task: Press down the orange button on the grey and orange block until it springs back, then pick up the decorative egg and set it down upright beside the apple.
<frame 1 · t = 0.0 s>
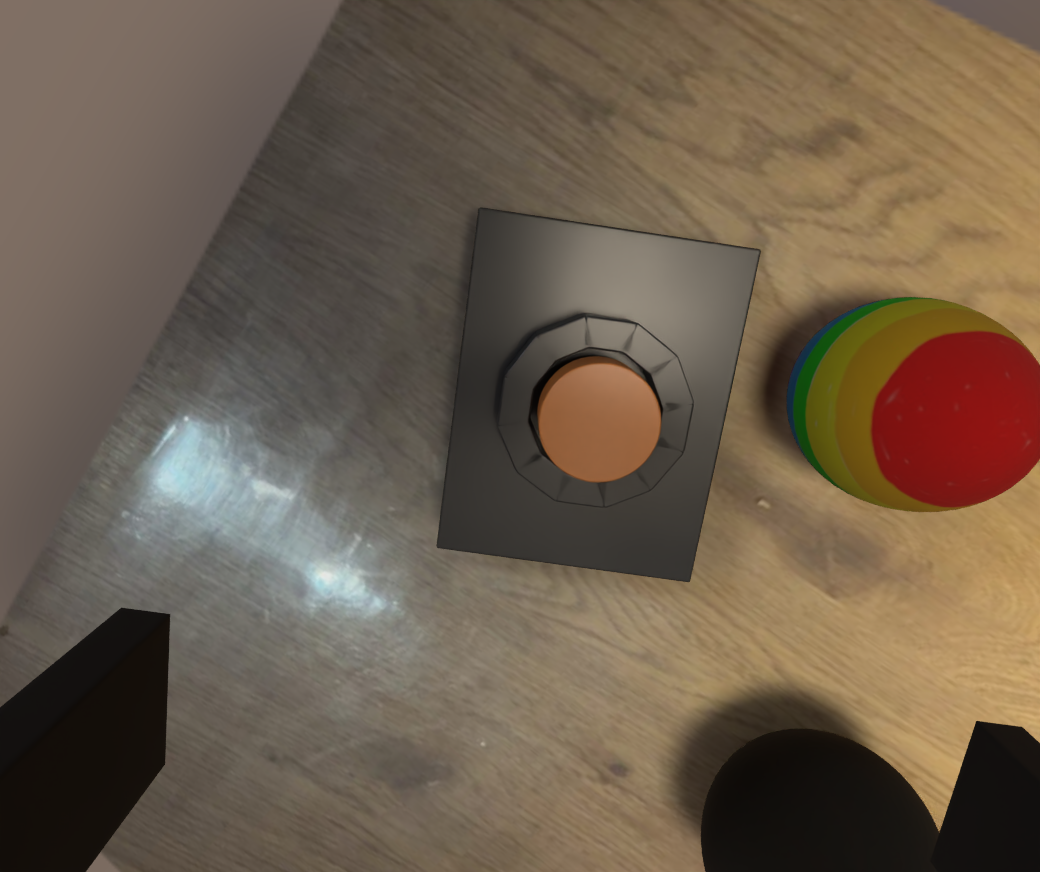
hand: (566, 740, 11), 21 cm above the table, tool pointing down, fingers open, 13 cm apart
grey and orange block: (584, 393, 31), on the table
orange button: (597, 418, 26), point 6 cm above the table, slide at 0.1 cm
decorative egg: (853, 387, 31), on the table
decorative ball: (775, 770, 36), on the table
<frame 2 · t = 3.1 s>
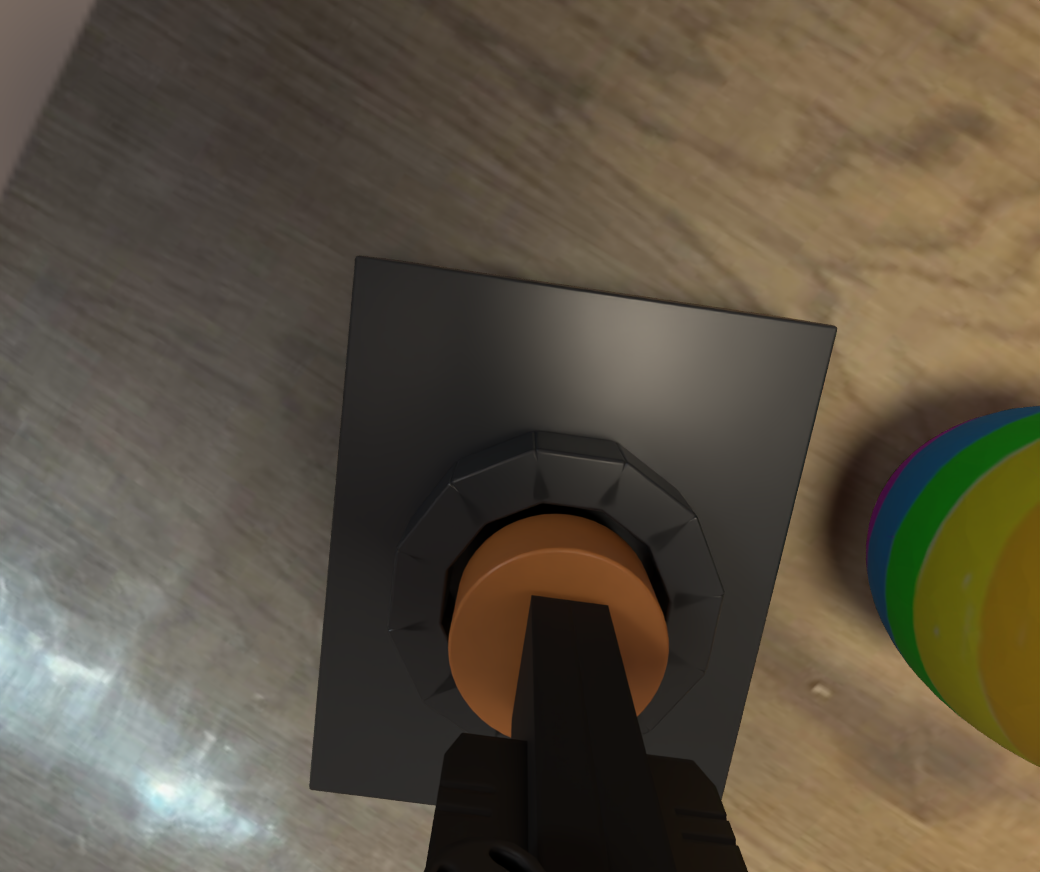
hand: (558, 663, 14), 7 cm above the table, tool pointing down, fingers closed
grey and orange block: (547, 531, 20), on the table
orange button: (556, 626, 15), point 6 cm above the table, slide at 0.1 cm, touching gripper
decorative egg: (963, 520, 20), on the table
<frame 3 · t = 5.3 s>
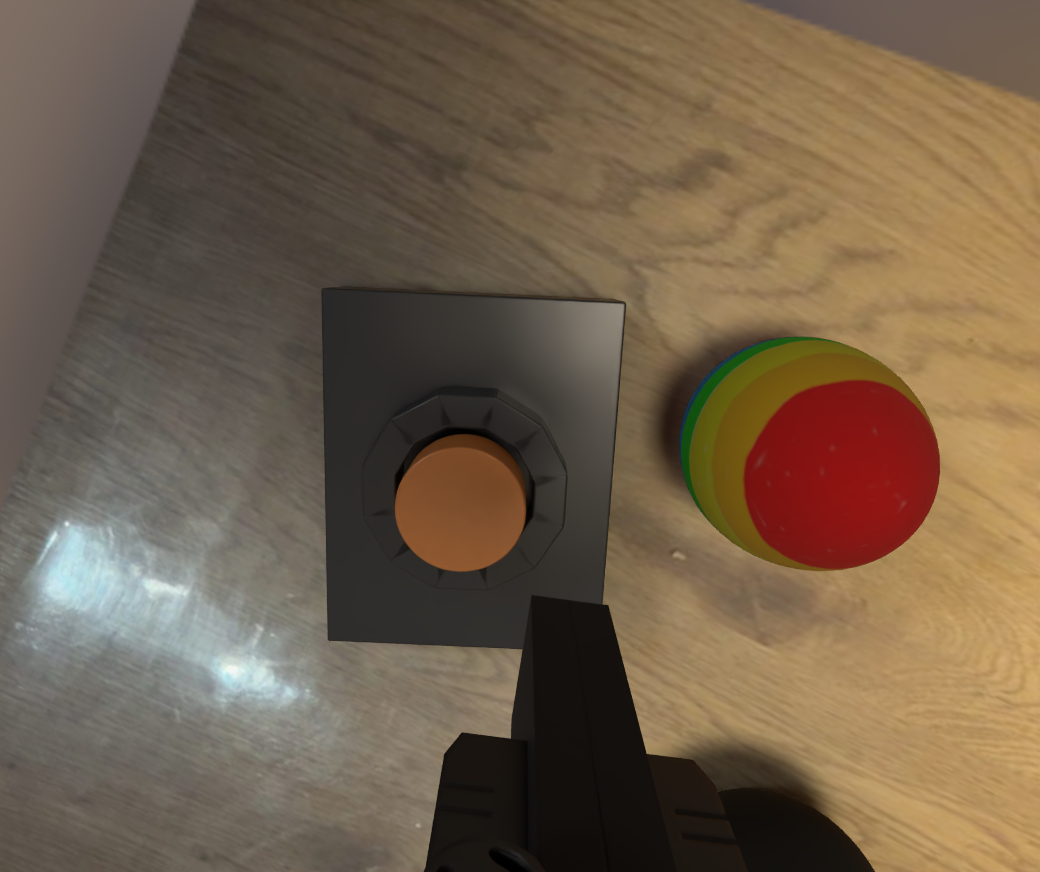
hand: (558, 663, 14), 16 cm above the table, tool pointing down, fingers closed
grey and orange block: (474, 459, 30), on the table
orange button: (462, 501, 24), point 6 cm above the table, slide at 0.1 cm
decorative egg: (758, 426, 29), on the table
decorative ball: (728, 826, 34), on the table
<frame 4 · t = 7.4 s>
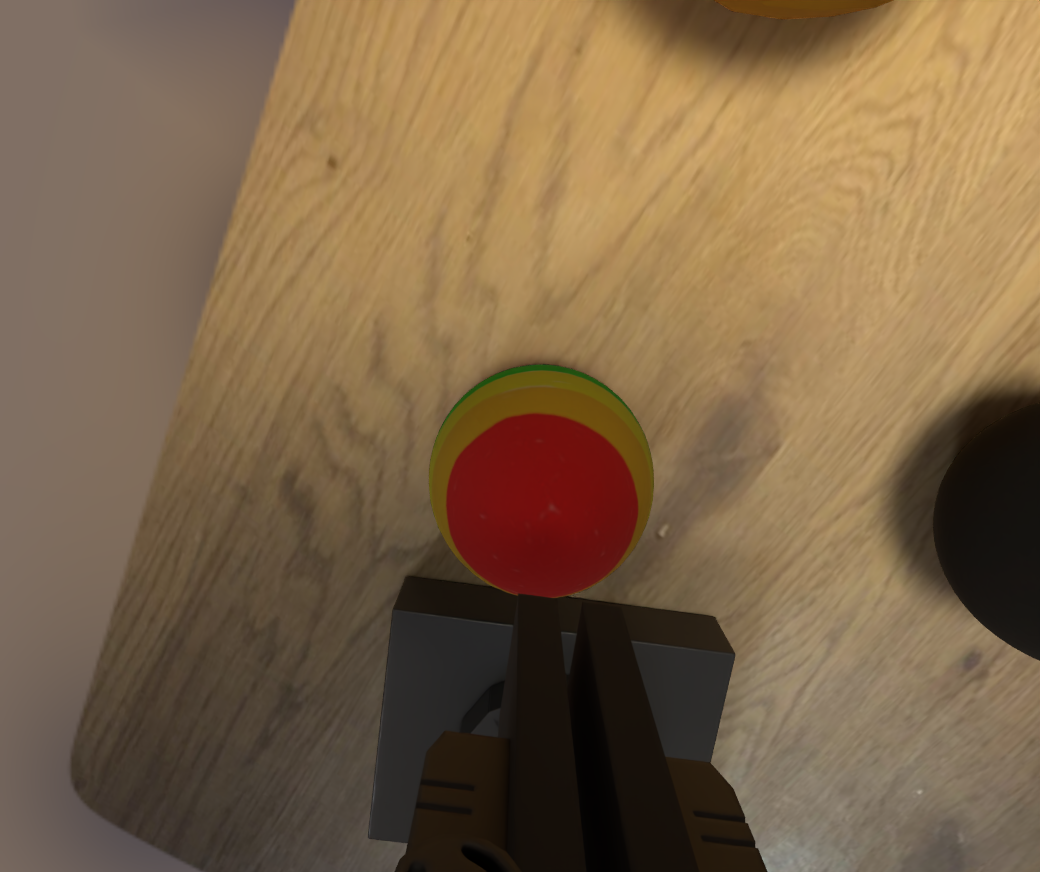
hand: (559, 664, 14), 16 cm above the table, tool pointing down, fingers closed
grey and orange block: (543, 704, 32), on the table
decorative egg: (538, 449, 30), on the table
decorative ball: (998, 490, 30), on the table
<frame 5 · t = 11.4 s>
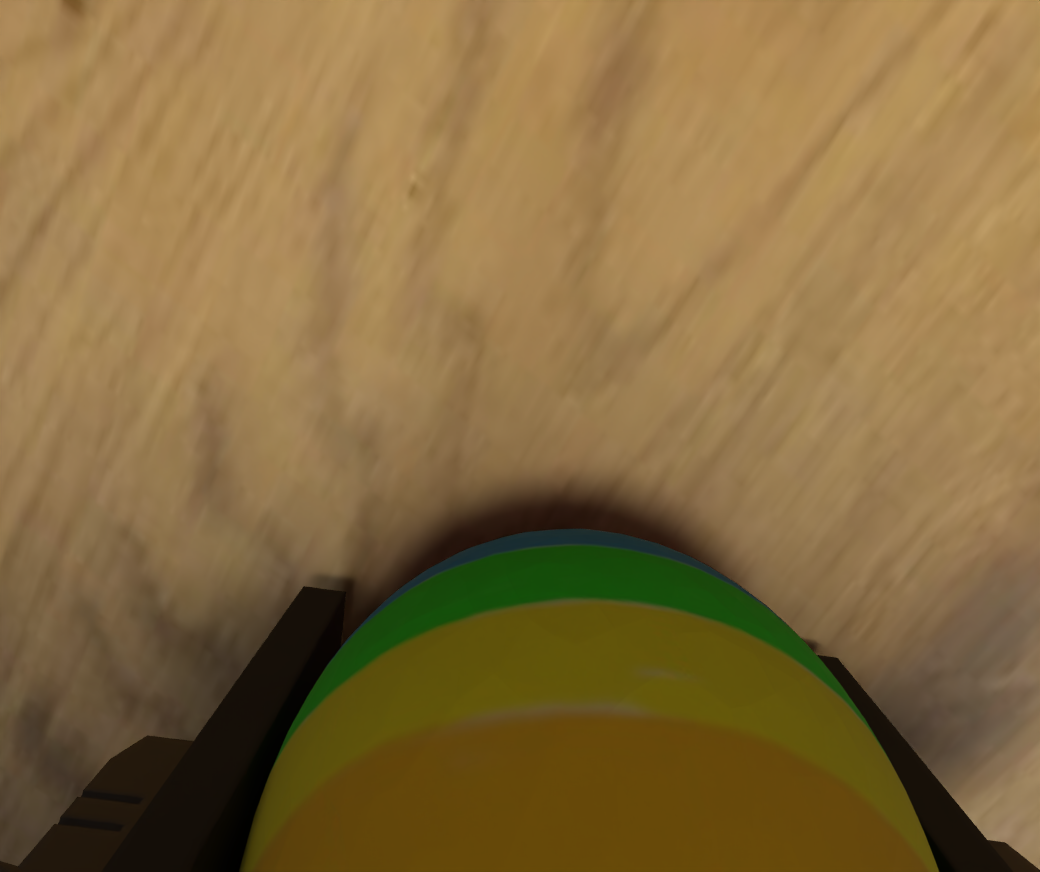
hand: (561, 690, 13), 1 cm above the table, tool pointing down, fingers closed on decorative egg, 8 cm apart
decorative egg: (559, 678, 13), on the table, touching gripper
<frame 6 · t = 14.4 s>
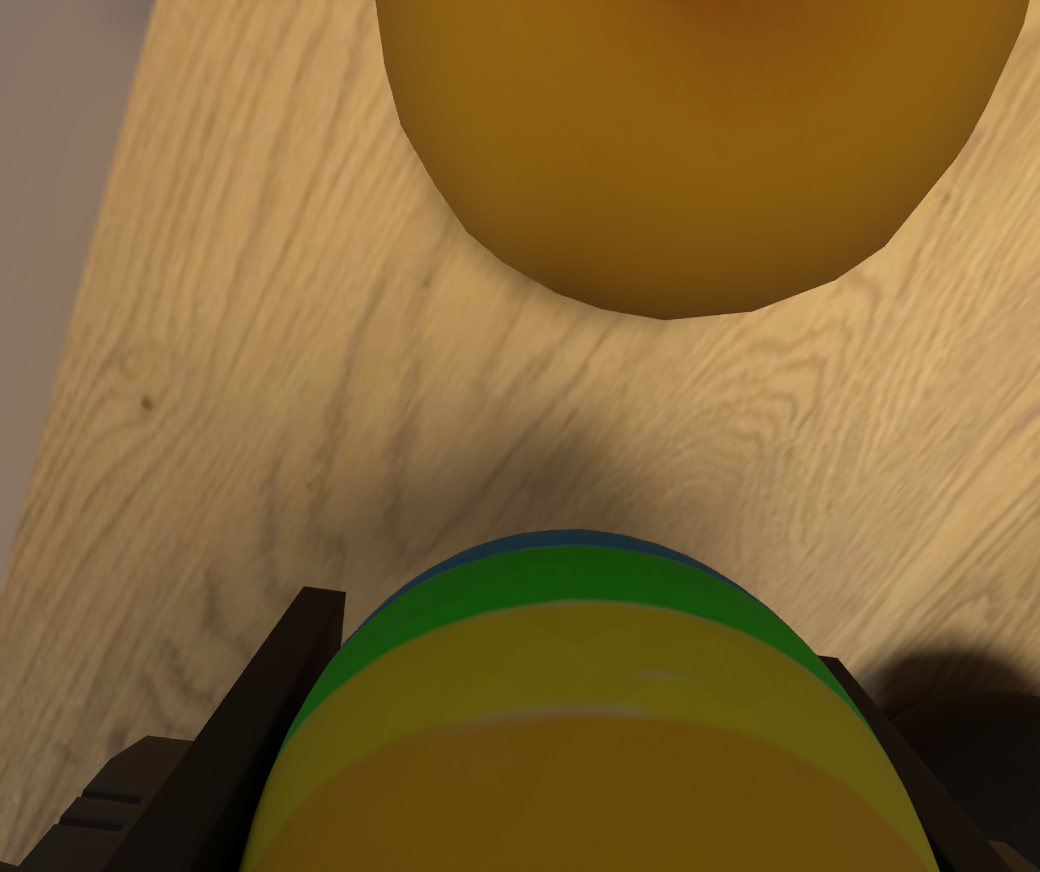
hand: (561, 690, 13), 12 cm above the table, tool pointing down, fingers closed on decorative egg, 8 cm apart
decorative egg: (559, 679, 13), point 11 cm above the table, touching gripper
apple: (637, 97, 21), on the table
decorative ball: (926, 750, 26), on the table
when the fingers open (0 cm above the table, at t = 17.3 s): decorative egg stays where it is, on the table.
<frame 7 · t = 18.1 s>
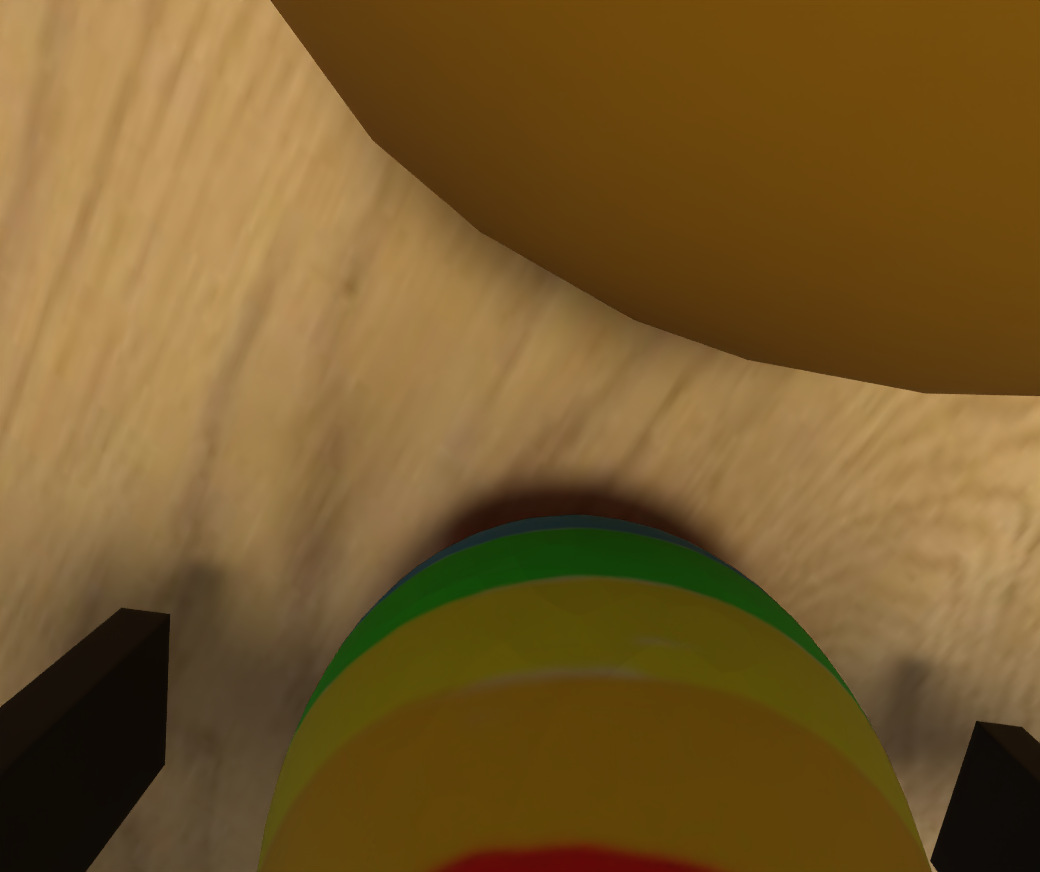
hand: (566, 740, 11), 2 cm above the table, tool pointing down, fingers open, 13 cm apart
decorative egg: (562, 660, 14), on the table
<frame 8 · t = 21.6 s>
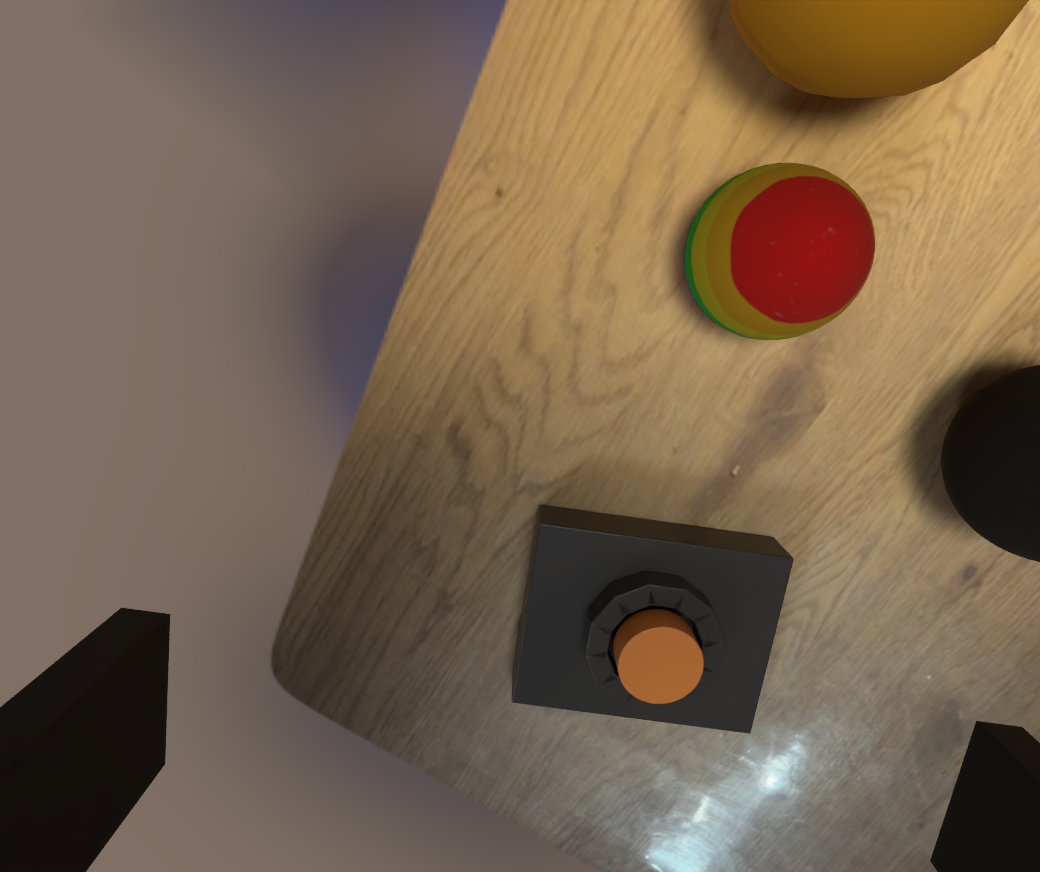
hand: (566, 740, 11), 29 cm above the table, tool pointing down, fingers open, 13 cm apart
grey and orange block: (639, 606, 42), on the table
orange button: (657, 655, 36), point 6 cm above the table, slide at 0.1 cm
decorative egg: (745, 256, 38), on the table
decorative ball: (990, 439, 40), on the table
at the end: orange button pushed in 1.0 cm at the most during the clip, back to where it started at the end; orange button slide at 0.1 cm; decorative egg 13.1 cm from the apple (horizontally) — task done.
